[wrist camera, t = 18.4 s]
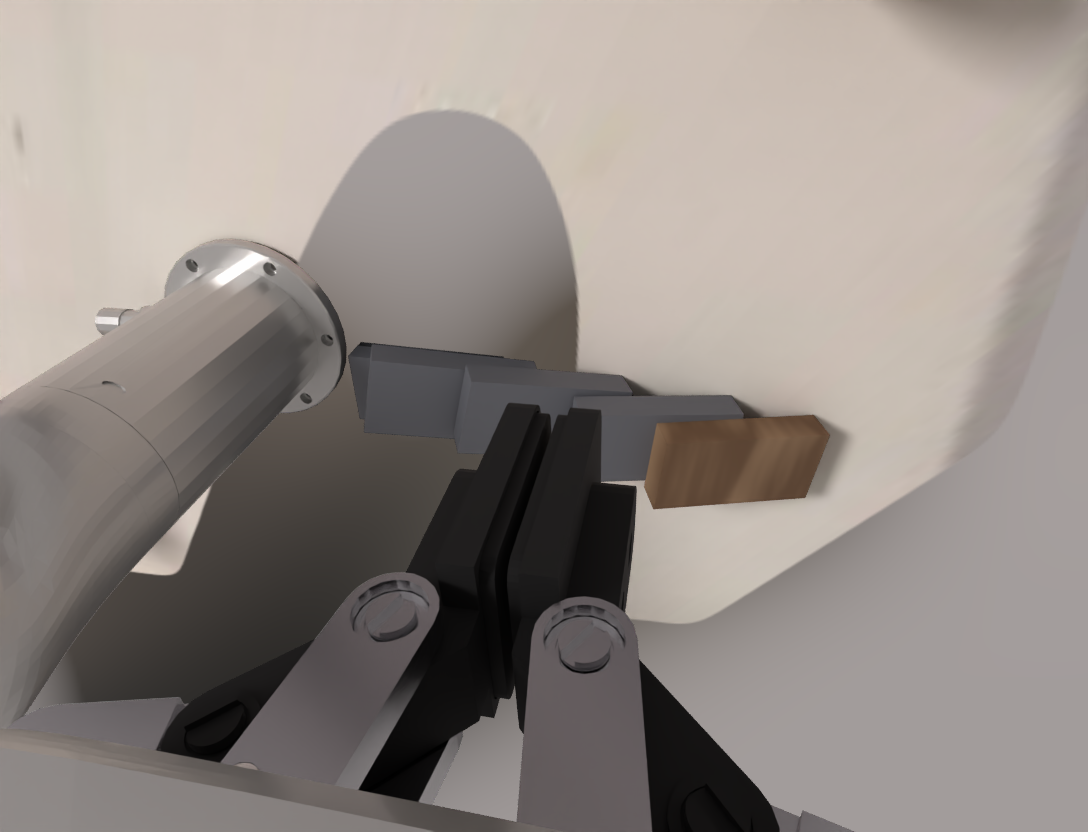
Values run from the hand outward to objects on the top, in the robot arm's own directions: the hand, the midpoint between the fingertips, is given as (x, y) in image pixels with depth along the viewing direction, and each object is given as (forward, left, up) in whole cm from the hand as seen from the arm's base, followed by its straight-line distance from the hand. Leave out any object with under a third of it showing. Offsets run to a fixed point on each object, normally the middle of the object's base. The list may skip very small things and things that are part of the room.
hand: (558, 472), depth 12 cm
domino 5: (+11, -18, -26) cm, 33 cm away
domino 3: (-1, -16, -26) cm, 31 cm away
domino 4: (+5, -17, -26) cm, 32 cm away
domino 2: (-7, -15, -26) cm, 31 cm away
